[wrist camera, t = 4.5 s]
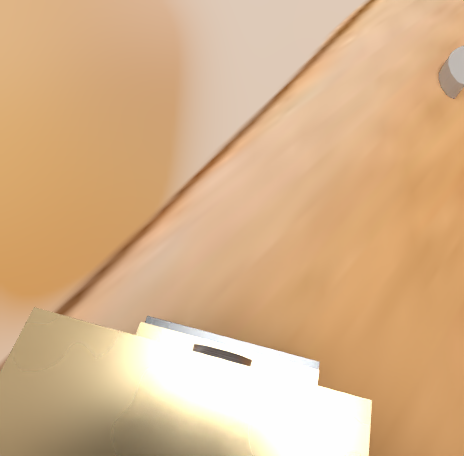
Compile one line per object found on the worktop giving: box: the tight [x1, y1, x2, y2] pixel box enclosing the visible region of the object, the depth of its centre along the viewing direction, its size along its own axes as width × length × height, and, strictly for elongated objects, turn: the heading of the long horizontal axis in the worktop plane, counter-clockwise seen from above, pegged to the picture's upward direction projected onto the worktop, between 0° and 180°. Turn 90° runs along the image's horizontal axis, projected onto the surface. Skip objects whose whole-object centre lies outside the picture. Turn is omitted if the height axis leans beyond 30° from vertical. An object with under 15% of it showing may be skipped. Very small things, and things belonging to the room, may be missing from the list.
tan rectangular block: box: [0, 307, 372, 456], centre depth 8 cm, size 5×7×10 cm
